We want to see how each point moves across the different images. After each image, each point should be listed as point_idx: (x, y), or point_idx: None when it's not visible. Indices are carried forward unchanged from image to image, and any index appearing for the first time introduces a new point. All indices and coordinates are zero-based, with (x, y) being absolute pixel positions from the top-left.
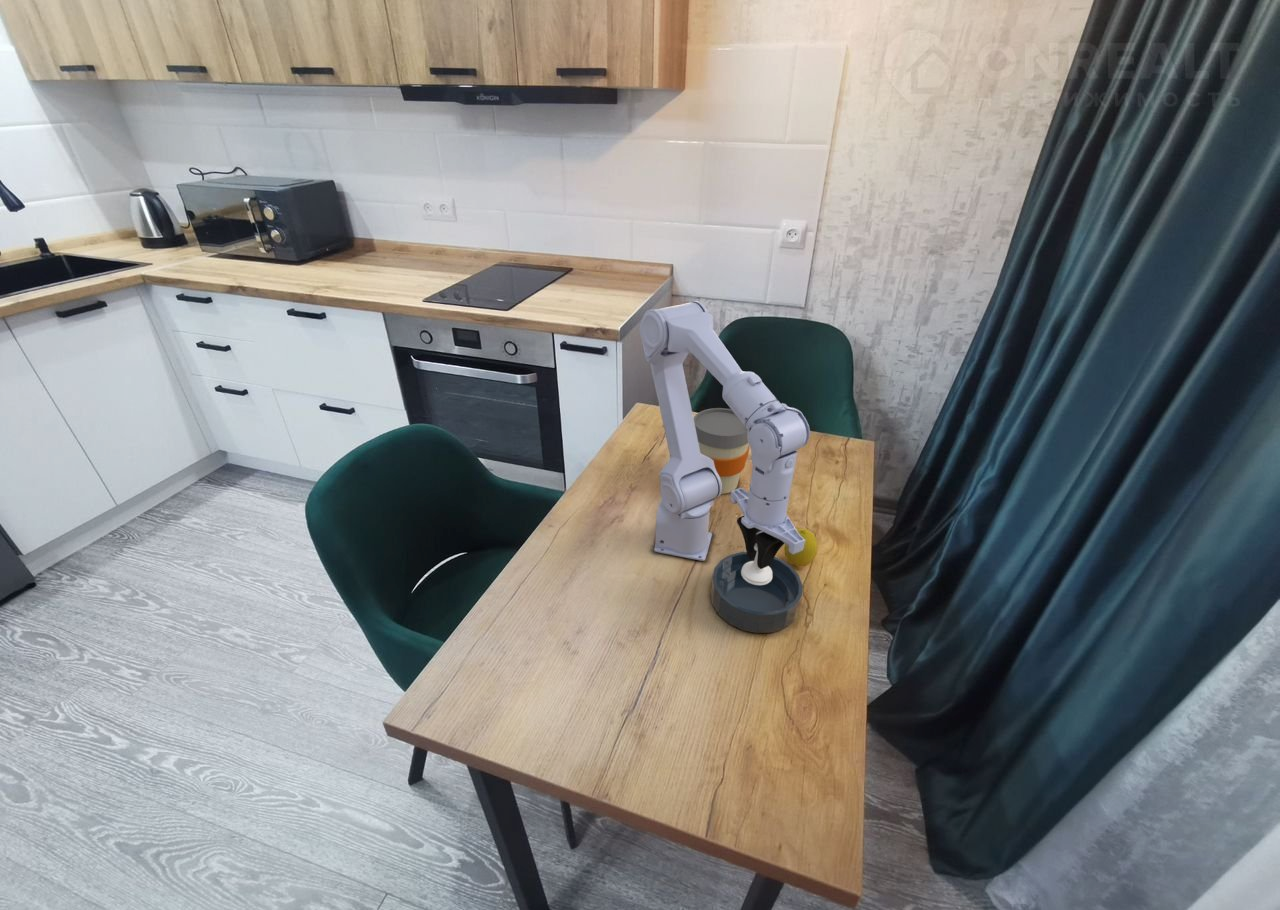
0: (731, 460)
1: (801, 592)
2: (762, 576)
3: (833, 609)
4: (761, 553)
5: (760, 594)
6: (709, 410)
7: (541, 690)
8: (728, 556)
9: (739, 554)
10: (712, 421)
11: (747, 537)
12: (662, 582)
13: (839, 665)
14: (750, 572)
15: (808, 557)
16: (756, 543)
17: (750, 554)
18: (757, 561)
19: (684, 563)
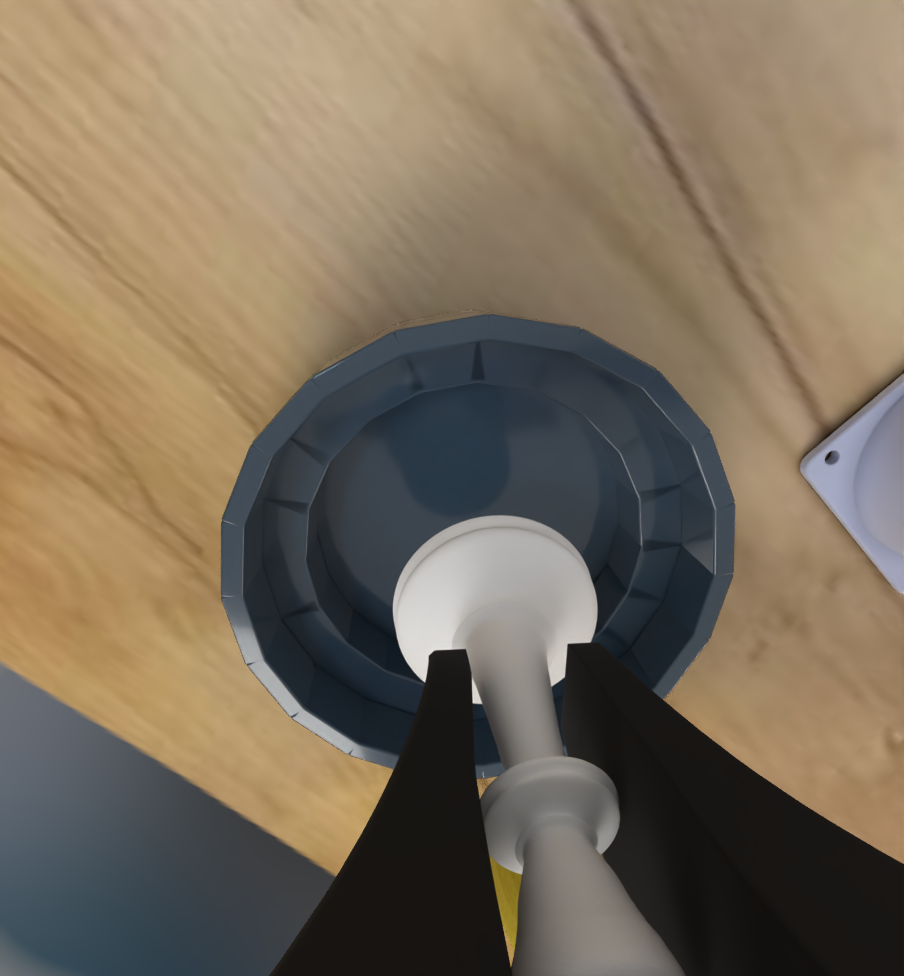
0: None
1: (307, 724)
2: (428, 623)
3: (286, 753)
4: (407, 807)
5: None
6: None
7: None
8: (730, 558)
9: (702, 618)
10: None
11: (719, 841)
12: (834, 171)
13: (26, 612)
14: (500, 577)
15: (493, 862)
16: (613, 817)
17: (583, 676)
18: (468, 680)
19: (853, 369)
